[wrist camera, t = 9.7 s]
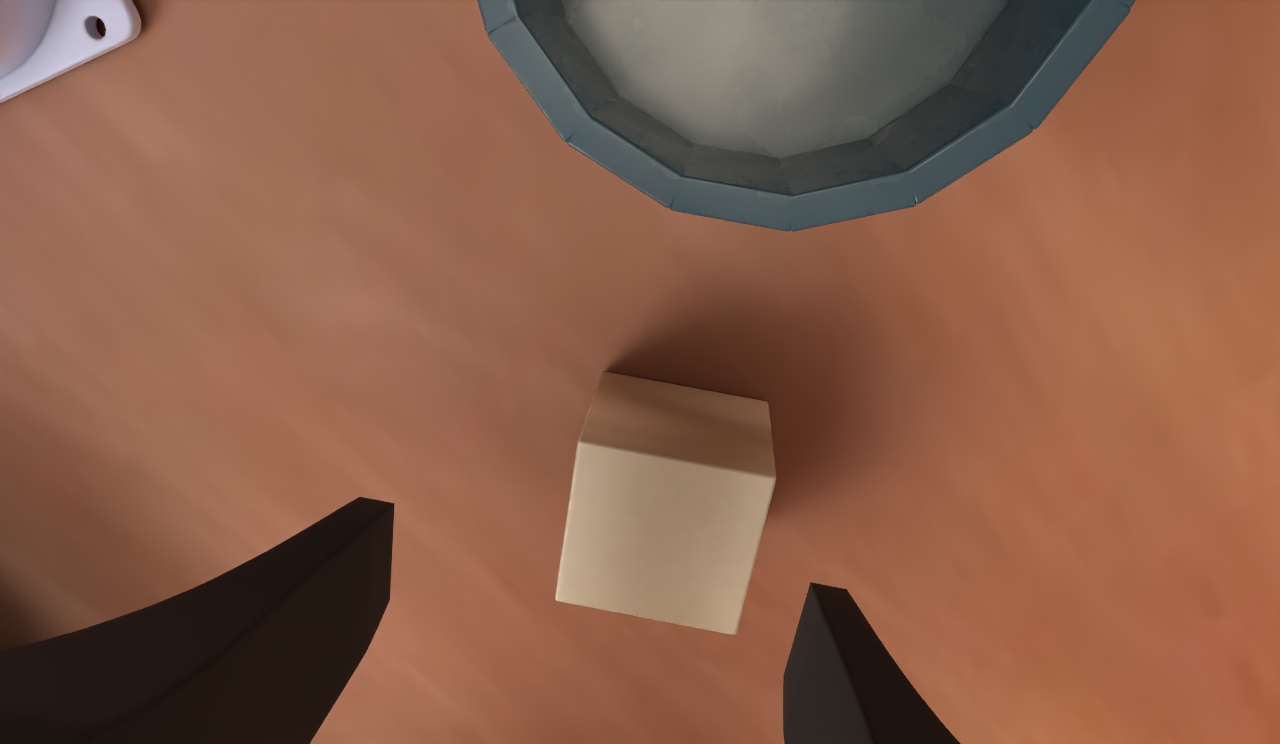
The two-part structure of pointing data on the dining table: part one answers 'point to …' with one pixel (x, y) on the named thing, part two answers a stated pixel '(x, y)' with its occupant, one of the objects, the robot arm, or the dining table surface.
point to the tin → (796, 93)
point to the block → (667, 503)
